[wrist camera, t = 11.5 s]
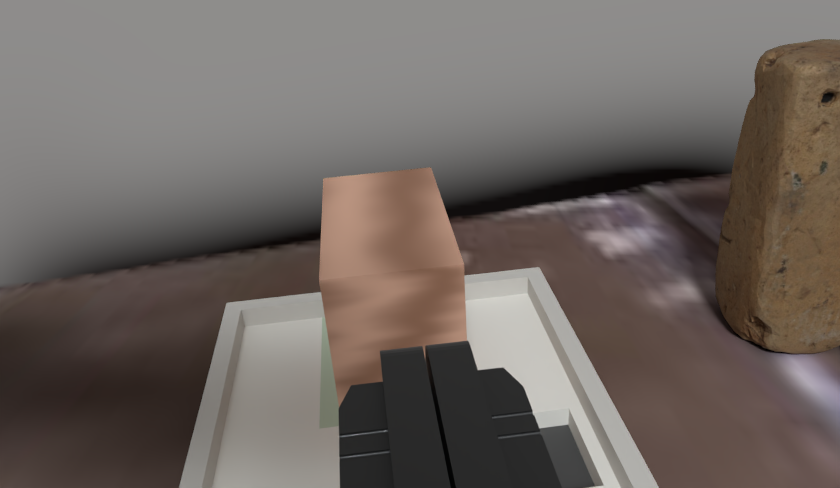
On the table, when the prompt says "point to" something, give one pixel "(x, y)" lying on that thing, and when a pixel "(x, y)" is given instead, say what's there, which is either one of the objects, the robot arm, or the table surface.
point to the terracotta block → (387, 271)
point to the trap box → (318, 403)
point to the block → (786, 205)
